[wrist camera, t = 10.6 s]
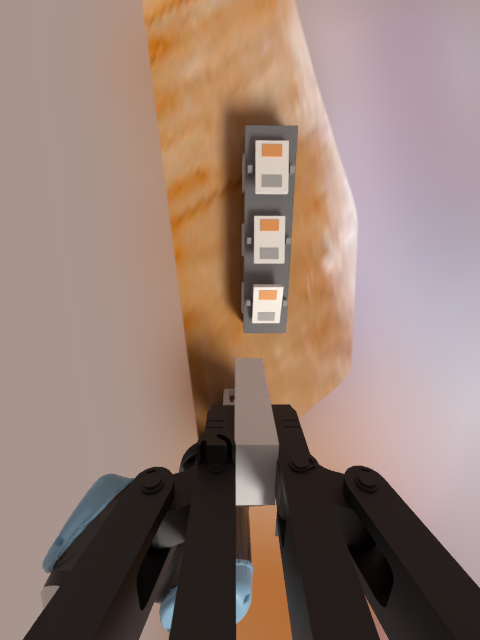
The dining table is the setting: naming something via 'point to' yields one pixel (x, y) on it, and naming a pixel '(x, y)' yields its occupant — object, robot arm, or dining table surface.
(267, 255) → the rocker middle
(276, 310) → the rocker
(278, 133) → the power strip
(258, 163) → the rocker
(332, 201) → the dining table surface
